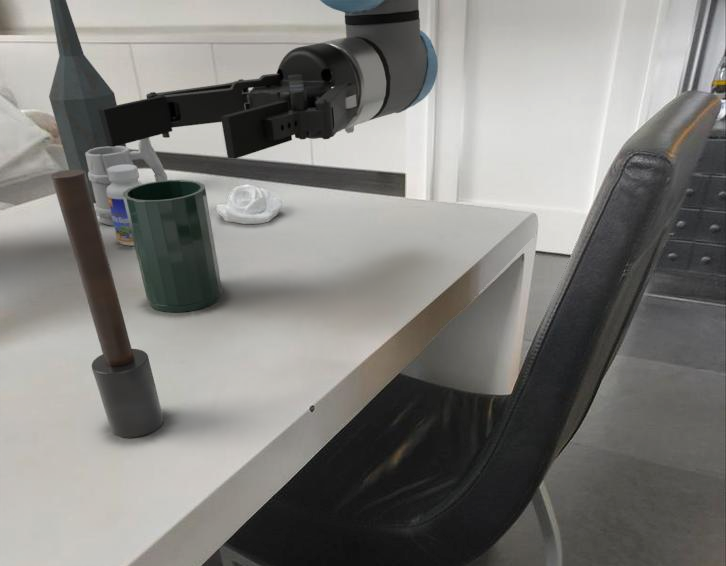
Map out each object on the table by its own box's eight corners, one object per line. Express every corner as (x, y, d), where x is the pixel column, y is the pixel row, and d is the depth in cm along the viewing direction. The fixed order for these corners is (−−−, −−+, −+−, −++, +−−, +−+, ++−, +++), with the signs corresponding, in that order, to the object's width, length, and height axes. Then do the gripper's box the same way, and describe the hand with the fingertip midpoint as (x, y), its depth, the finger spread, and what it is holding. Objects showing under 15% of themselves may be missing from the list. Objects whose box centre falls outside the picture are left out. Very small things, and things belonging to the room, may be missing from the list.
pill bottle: (110, 242, 98) (91, 169, 92) (139, 232, 101) (123, 161, 95) (136, 248, 95) (118, 174, 89) (165, 237, 99) (150, 165, 93)
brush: (99, 432, 57) (18, 179, 45) (132, 406, 61) (65, 164, 48) (142, 442, 56) (71, 183, 44) (174, 415, 59) (115, 167, 47)
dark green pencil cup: (133, 307, 79) (105, 198, 71) (176, 280, 85) (155, 177, 78) (196, 316, 76) (174, 204, 69) (236, 288, 82) (220, 182, 75)
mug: (103, 213, 110) (82, 130, 102) (178, 209, 110) (162, 126, 103) (93, 228, 104) (69, 141, 96) (171, 223, 104) (154, 136, 97)
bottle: (141, 186, 123) (96, -21, 105) (131, 201, 115) (80, -20, 97) (83, 189, 122) (27, -18, 104) (69, 204, 115) (6, -17, 96)
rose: (275, 174, 108) (284, 190, 100) (278, 204, 110) (287, 221, 103) (211, 180, 106) (215, 197, 98) (216, 210, 109) (220, 228, 101)
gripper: (443, 139, 62) (296, 200, 48) (240, 125, 74) (76, 172, 60) (444, 40, 57) (282, 78, 44) (227, 43, 69) (47, 73, 56)
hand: (162, 132), depth 52 cm, fingers open, 13 cm apart
